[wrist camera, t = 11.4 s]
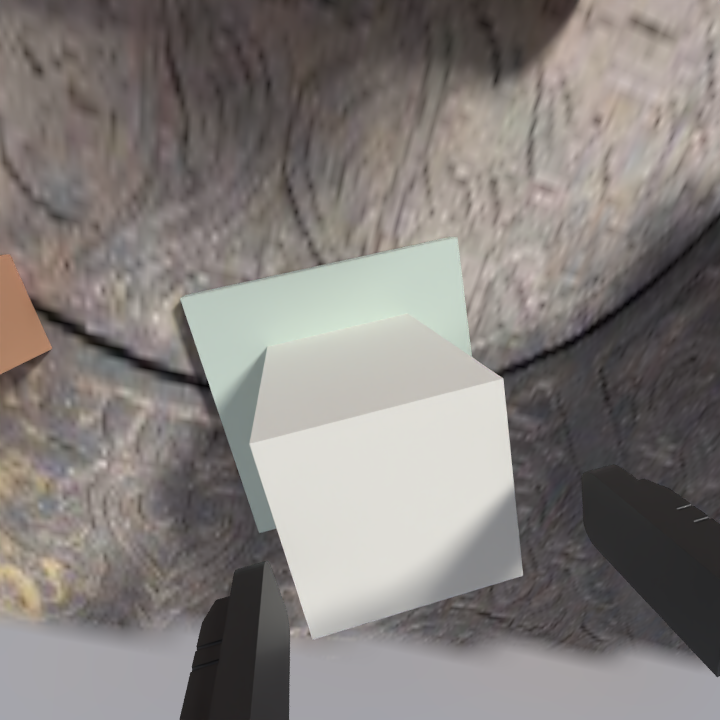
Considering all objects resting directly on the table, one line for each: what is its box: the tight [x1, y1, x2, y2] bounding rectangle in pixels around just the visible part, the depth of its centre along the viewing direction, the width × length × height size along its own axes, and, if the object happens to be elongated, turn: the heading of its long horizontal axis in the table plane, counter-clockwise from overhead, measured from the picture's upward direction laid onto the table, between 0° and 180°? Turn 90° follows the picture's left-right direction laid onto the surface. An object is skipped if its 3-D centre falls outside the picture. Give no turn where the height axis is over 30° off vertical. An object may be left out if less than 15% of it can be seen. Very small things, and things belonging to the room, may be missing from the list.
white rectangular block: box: [249, 313, 523, 639], centre depth 16 cm, size 6×6×9 cm
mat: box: [180, 237, 472, 533], centre depth 20 cm, size 12×12×1 cm
